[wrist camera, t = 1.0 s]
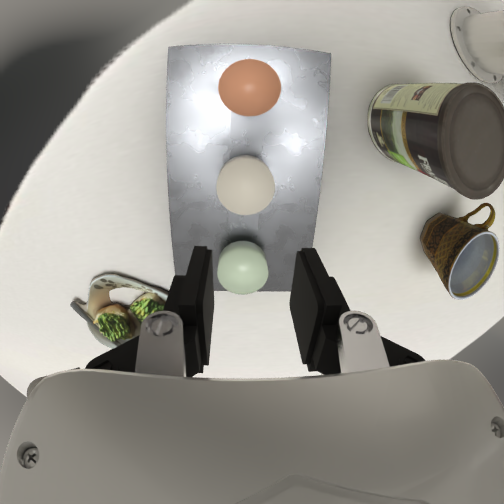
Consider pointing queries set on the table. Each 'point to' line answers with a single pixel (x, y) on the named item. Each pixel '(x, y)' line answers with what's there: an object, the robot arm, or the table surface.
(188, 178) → the panel
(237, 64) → the brown egg
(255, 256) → the button sage
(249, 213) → the button cream
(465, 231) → the ceramic cup
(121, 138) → the table surface
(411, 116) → the coffee can
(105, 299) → the avocado toast plate
